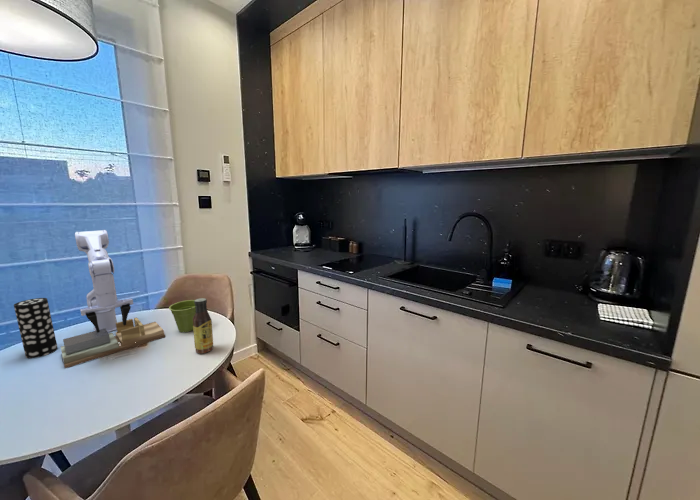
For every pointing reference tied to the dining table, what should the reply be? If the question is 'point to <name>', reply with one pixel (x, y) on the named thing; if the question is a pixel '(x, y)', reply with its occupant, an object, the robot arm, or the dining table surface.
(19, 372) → the dining table surface
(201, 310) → the sauce bottle
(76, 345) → the metal block
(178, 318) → the plant pot
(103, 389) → the dining table surface
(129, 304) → the robot arm
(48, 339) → the white-spotted black cylinder
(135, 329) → the tan piece
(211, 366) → the dining table surface
